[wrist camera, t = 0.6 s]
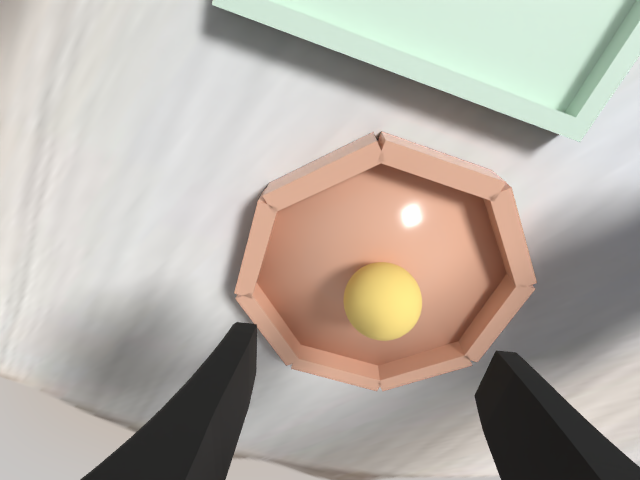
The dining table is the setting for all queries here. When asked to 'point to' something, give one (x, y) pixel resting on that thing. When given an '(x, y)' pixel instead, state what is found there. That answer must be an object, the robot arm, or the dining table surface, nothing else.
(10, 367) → the dining table surface
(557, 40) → the tray
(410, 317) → the ball
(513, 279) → the dish
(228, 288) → the dining table surface
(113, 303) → the dining table surface
